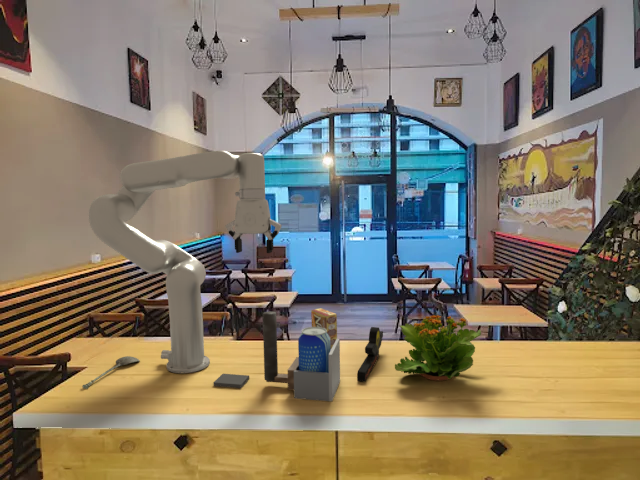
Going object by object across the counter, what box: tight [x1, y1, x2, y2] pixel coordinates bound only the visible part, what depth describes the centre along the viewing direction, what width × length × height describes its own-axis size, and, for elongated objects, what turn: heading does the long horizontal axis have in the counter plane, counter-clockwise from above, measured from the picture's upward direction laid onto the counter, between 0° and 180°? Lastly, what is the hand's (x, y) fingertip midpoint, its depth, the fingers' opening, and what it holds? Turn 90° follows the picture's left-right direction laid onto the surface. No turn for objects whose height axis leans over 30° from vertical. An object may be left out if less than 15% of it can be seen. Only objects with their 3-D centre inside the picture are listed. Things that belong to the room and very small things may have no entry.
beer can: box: [297, 326, 331, 373], centre depth 113 cm, size 8×8×16 cm
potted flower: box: [394, 314, 482, 382], centre depth 122 cm, size 25×24×18 cm
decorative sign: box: [356, 326, 384, 382], centre depth 130 cm, size 27×2×10 cm, turn 161°
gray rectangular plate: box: [212, 373, 250, 389], centre depth 119 cm, size 8×6×1 cm
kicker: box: [262, 311, 299, 391], centre depth 115 cm, size 10×9×19 cm
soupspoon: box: [82, 355, 140, 390], centre depth 127 cm, size 22×3×7 cm
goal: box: [293, 338, 341, 402], centre depth 114 cm, size 10×12×12 cm
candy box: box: [310, 307, 338, 349], centre depth 134 cm, size 9×4×15 cm, turn 33°
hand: (254, 252), depth 130 cm, fingers open, 9 cm apart
